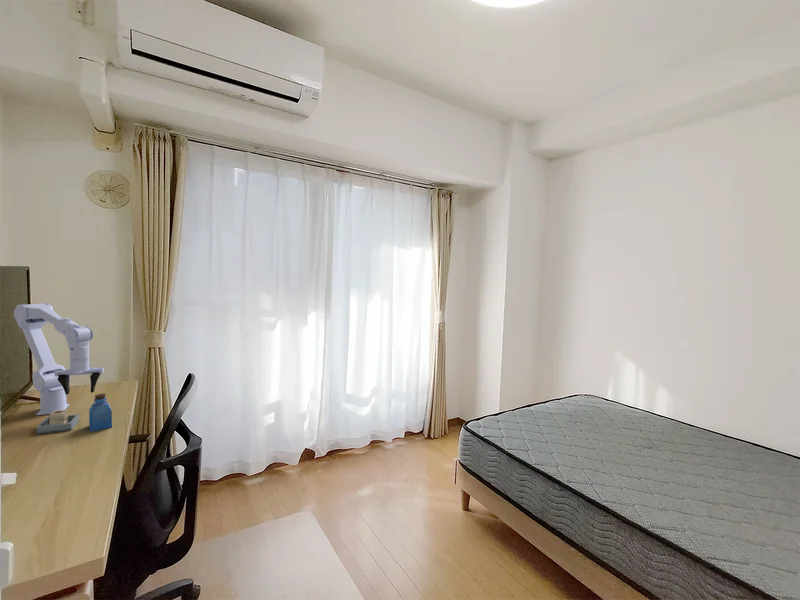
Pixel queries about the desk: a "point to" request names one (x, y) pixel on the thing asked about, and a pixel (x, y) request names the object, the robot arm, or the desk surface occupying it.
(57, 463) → the desk surface
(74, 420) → the tray
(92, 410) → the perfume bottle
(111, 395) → the desk surface
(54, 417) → the bored block
